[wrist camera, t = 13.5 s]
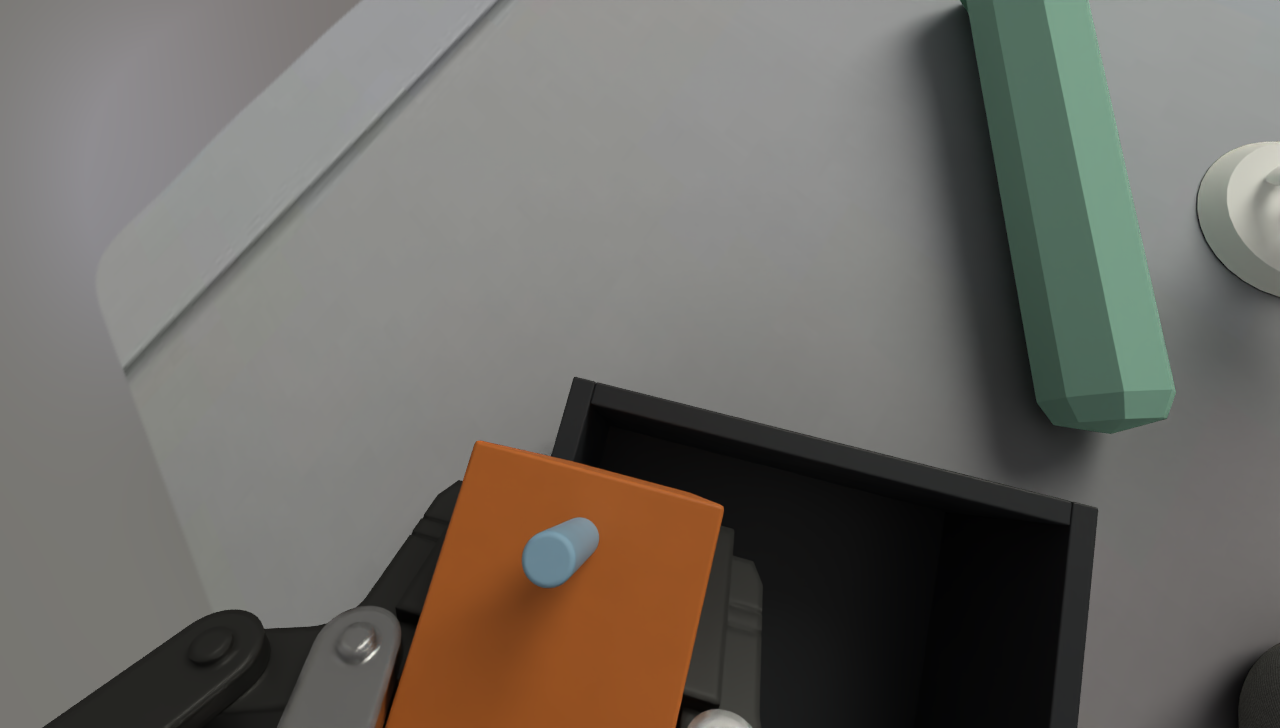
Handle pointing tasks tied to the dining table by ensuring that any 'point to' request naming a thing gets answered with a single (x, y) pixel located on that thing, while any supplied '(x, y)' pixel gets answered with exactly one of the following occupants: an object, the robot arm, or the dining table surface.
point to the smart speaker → (1261, 693)
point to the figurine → (1245, 213)
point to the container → (1070, 217)
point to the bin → (871, 568)
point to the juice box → (559, 600)
